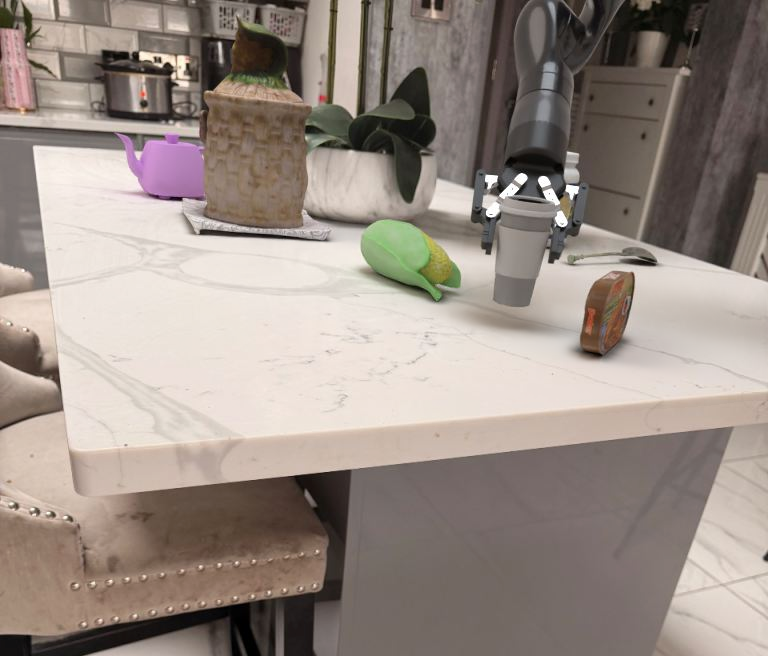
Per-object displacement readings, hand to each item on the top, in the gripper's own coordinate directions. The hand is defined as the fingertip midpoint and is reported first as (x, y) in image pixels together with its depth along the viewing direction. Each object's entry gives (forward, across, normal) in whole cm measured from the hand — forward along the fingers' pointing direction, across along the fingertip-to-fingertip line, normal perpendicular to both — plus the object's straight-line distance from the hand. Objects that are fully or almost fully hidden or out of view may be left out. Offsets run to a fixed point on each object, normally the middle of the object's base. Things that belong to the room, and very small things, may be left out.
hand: (520, 255), depth 91 cm
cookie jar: (-26, -47, +40) cm, 67 cm away
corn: (-6, -15, +19) cm, 25 cm away
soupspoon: (-33, +19, +46) cm, 60 cm away
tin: (+7, +11, +6) cm, 15 cm away
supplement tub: (-42, +5, +55) cm, 69 cm away
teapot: (-39, -71, +53) cm, 97 cm away
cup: (+3, 0, +5) cm, 6 cm away
